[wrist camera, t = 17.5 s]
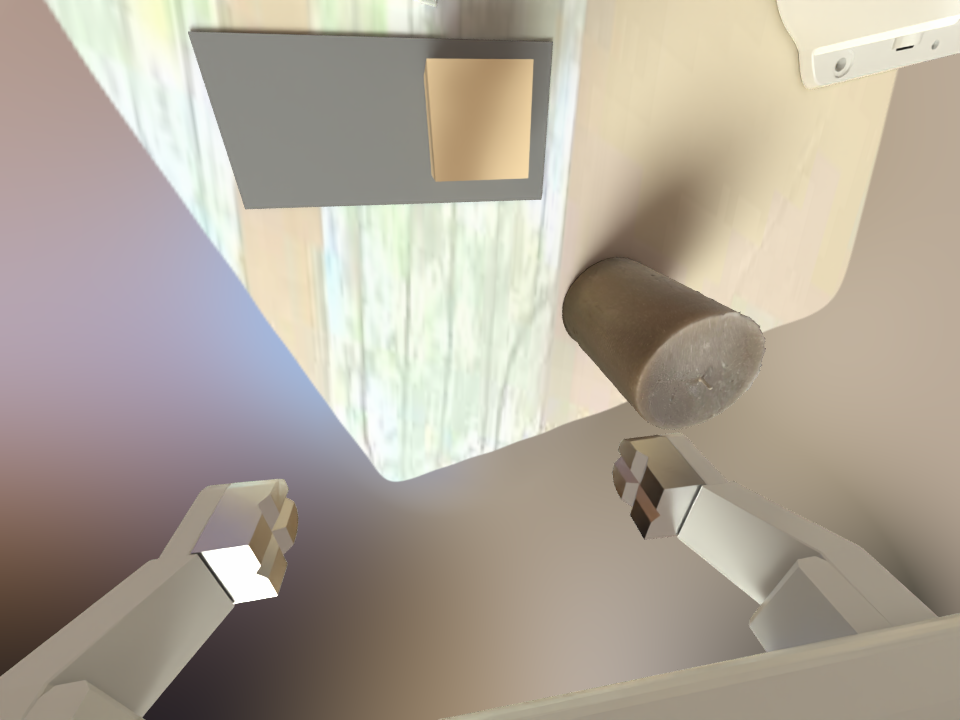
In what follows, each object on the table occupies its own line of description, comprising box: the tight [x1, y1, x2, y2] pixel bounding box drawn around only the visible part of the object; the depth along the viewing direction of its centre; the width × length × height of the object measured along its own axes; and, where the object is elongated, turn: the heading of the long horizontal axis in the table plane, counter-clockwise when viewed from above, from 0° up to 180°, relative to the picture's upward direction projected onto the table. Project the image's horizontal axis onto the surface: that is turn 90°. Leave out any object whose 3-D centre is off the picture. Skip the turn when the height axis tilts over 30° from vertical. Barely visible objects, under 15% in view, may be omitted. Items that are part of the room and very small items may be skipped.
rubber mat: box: [188, 32, 553, 209], centre depth 26 cm, size 23×10×1 cm, turn 91°
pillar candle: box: [562, 257, 766, 430], centre depth 30 cm, size 10×10×15 cm
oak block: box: [424, 58, 534, 182], centre depth 24 cm, size 6×6×6 cm
